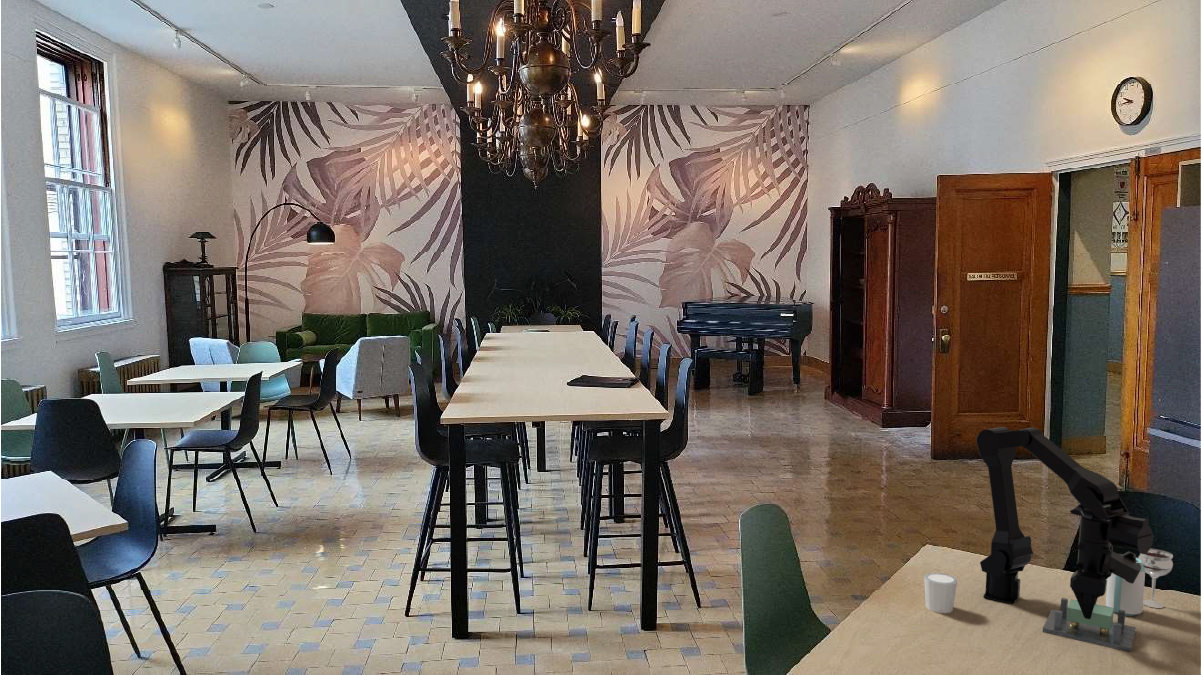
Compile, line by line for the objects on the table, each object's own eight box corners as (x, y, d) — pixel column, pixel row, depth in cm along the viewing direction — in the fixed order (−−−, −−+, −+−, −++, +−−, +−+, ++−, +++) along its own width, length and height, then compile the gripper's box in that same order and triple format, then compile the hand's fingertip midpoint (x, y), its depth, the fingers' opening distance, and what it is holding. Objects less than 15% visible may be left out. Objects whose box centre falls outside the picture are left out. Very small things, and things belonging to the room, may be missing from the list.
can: (1115, 602, 201) (1119, 551, 200) (1148, 612, 195) (1152, 560, 194) (1099, 608, 197) (1102, 557, 196) (1132, 619, 191) (1135, 566, 190)
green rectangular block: (1066, 620, 185) (1067, 607, 185) (1070, 611, 190) (1071, 599, 189) (1110, 629, 180) (1111, 616, 180) (1112, 620, 185) (1113, 607, 185)
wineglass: (1170, 612, 195) (1174, 560, 194) (1135, 606, 199) (1138, 554, 198) (1169, 602, 201) (1173, 551, 200) (1134, 596, 204) (1138, 546, 203)
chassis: (1042, 631, 185) (1043, 611, 184) (1051, 612, 195) (1052, 593, 194) (1130, 651, 176) (1132, 630, 175) (1135, 631, 186) (1136, 611, 185)
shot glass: (922, 611, 195) (923, 581, 194) (923, 600, 201) (924, 570, 201) (955, 616, 193) (957, 585, 192) (955, 604, 199) (957, 575, 198)
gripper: (1136, 559, 171) (1130, 636, 173) (1143, 535, 186) (1138, 606, 188) (1072, 548, 177) (1067, 622, 179) (1083, 525, 193) (1079, 594, 194)
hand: (1090, 611), depth 185 cm, fingers open, 9 cm apart
